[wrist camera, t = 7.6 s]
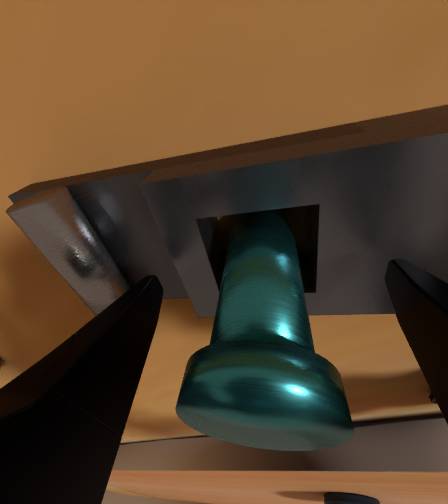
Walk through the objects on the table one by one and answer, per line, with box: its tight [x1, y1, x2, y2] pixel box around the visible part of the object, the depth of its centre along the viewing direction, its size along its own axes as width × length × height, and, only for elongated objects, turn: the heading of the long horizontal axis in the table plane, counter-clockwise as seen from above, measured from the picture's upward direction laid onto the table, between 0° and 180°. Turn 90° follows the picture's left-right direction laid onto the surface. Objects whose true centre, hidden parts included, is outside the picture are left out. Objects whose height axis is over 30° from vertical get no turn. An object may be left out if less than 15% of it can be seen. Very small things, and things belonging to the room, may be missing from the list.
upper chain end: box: [139, 105, 448, 317], centre depth 9 cm, size 8×16×5 cm, turn 102°
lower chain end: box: [6, 123, 367, 316], centre depth 12 cm, size 8×16×4 cm, turn 102°
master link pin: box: [176, 208, 354, 451], centre depth 9 cm, size 4×4×9 cm
